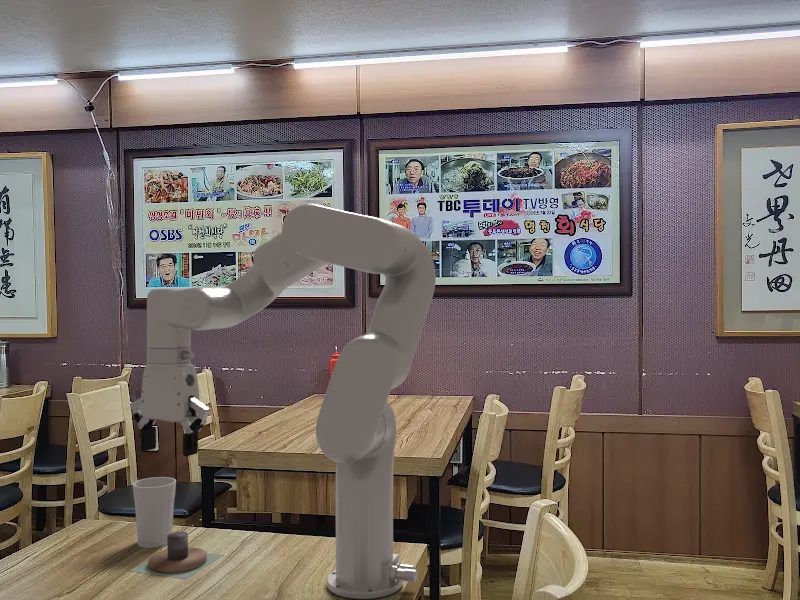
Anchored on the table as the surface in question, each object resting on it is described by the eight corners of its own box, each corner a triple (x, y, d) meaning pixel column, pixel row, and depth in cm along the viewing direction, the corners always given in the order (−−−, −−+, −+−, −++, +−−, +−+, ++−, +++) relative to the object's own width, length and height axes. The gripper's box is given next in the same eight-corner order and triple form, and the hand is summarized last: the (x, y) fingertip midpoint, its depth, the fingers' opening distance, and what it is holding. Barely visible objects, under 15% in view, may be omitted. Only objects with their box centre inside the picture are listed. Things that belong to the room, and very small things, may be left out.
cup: (162, 552, 132) (162, 488, 132) (124, 549, 134) (124, 486, 134) (184, 538, 140) (183, 478, 140) (147, 535, 142) (147, 476, 142)
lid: (217, 555, 129) (217, 528, 129) (185, 576, 120) (184, 547, 120) (171, 550, 132) (171, 523, 132) (135, 570, 123) (135, 541, 123)
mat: (223, 557, 130) (223, 555, 130) (186, 581, 119) (186, 578, 119) (170, 550, 133) (170, 548, 133) (129, 573, 122) (129, 570, 122)
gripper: (221, 357, 127) (221, 452, 127) (147, 354, 134) (147, 444, 134) (193, 360, 120) (193, 461, 120) (116, 357, 127) (117, 452, 127)
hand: (169, 452), depth 127 cm, fingers open, 9 cm apart
